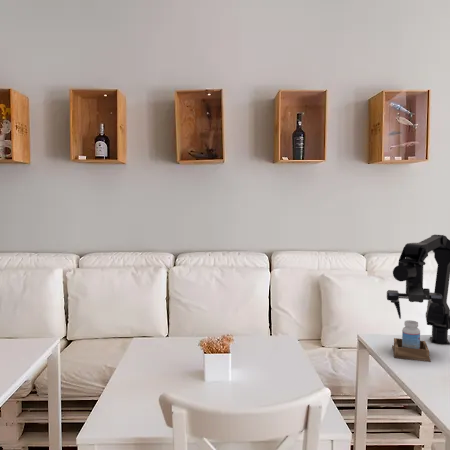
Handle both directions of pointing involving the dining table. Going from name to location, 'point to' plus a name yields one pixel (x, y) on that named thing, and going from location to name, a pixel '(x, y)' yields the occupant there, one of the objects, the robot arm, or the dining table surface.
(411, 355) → the walnut socket
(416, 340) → the pill bottle
